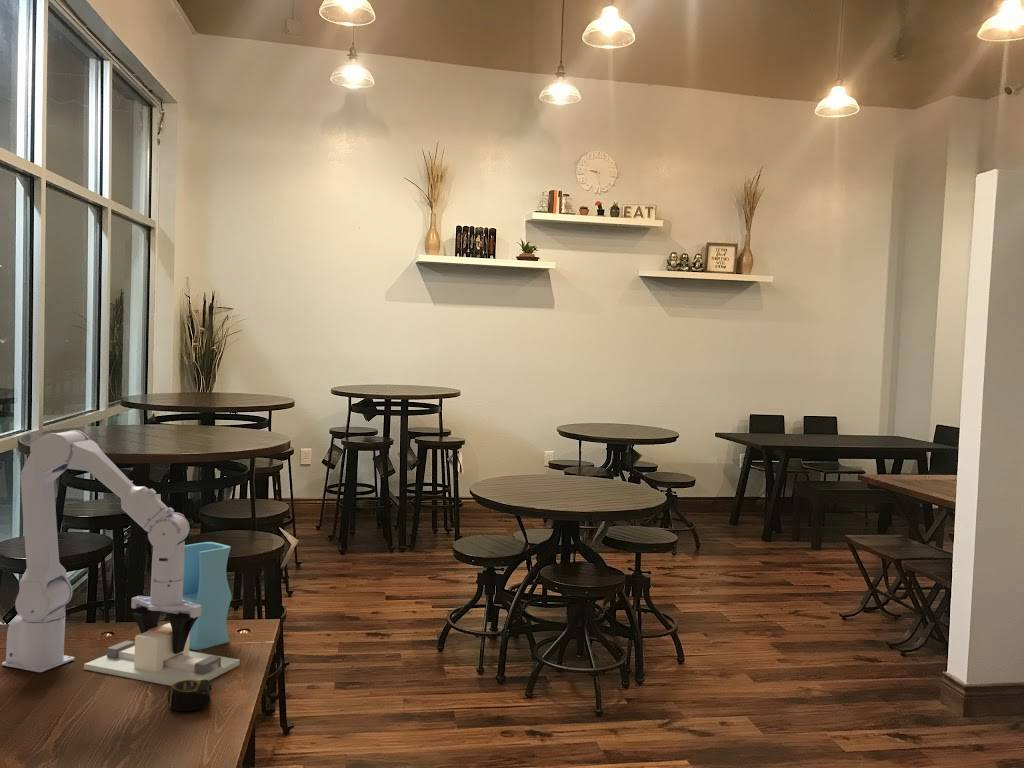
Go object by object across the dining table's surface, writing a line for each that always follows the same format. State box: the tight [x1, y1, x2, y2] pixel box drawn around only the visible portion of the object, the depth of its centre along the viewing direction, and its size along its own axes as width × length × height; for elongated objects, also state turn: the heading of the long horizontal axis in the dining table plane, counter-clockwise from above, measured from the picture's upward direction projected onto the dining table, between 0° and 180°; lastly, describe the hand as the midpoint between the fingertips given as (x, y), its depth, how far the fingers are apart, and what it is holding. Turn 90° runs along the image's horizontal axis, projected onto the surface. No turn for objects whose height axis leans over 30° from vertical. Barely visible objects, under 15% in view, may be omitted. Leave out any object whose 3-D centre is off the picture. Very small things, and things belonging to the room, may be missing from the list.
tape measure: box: [167, 680, 213, 712], centre depth 140 cm, size 7×7×4 cm
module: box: [134, 622, 190, 672], centre depth 157 cm, size 5×9×6 cm, turn 163°
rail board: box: [83, 640, 241, 687], centre depth 158 cm, size 24×14×3 cm, turn 73°
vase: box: [182, 541, 232, 651], centre depth 173 cm, size 8×8×20 cm
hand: (164, 649), depth 158 cm, fingers open, 6 cm apart
